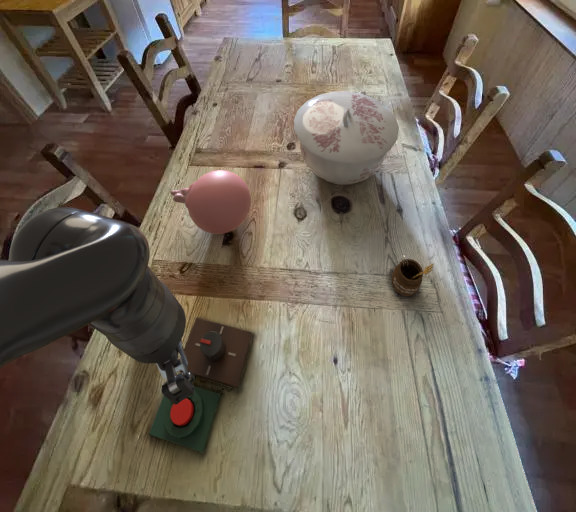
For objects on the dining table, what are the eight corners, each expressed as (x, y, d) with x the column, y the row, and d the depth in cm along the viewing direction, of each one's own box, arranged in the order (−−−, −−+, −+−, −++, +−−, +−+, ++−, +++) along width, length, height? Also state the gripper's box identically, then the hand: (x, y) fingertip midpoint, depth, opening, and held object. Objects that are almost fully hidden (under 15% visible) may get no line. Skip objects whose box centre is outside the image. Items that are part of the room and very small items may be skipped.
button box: (221, 394, 63) (218, 392, 61) (203, 452, 58) (200, 452, 56) (172, 380, 65) (167, 376, 63) (150, 434, 59) (145, 433, 57)
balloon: (192, 187, 97) (178, 151, 86) (260, 198, 94) (254, 161, 83) (168, 236, 86) (149, 202, 76) (244, 250, 83) (235, 216, 72)
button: (197, 402, 60) (195, 401, 59) (188, 428, 58) (186, 427, 57) (178, 396, 61) (176, 395, 60) (169, 422, 59) (166, 421, 57)
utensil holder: (394, 265, 79) (404, 240, 71) (421, 278, 77) (436, 253, 69) (386, 289, 76) (397, 265, 67) (415, 302, 73) (430, 280, 65)
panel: (253, 336, 70) (251, 331, 68) (239, 389, 64) (236, 386, 61) (199, 321, 72) (196, 317, 70) (180, 372, 66) (176, 368, 64)
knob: (228, 340, 67) (224, 333, 63) (221, 364, 64) (216, 358, 61) (209, 335, 67) (204, 328, 64) (201, 358, 65) (195, 352, 61)
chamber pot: (321, 217, 89) (325, 167, 74) (280, 147, 107) (276, 96, 93) (409, 180, 97) (427, 127, 82) (356, 120, 115) (364, 69, 100)
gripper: (104, 279, 44) (145, 319, 55) (122, 404, 35) (167, 421, 46) (162, 252, 46) (190, 296, 58) (193, 362, 37) (219, 388, 49)
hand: (180, 352), depth 52 cm, fingers open, 8 cm apart
